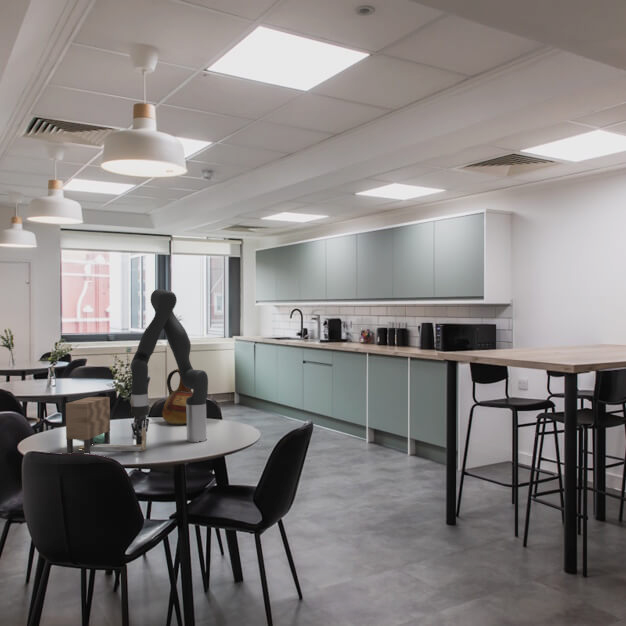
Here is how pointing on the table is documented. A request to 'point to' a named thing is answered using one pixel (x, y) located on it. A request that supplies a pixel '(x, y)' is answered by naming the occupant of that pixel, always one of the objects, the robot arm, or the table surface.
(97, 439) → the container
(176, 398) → the ceramic pitcher
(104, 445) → the plank with tan block
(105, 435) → the walnut cabinet
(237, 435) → the table surface
